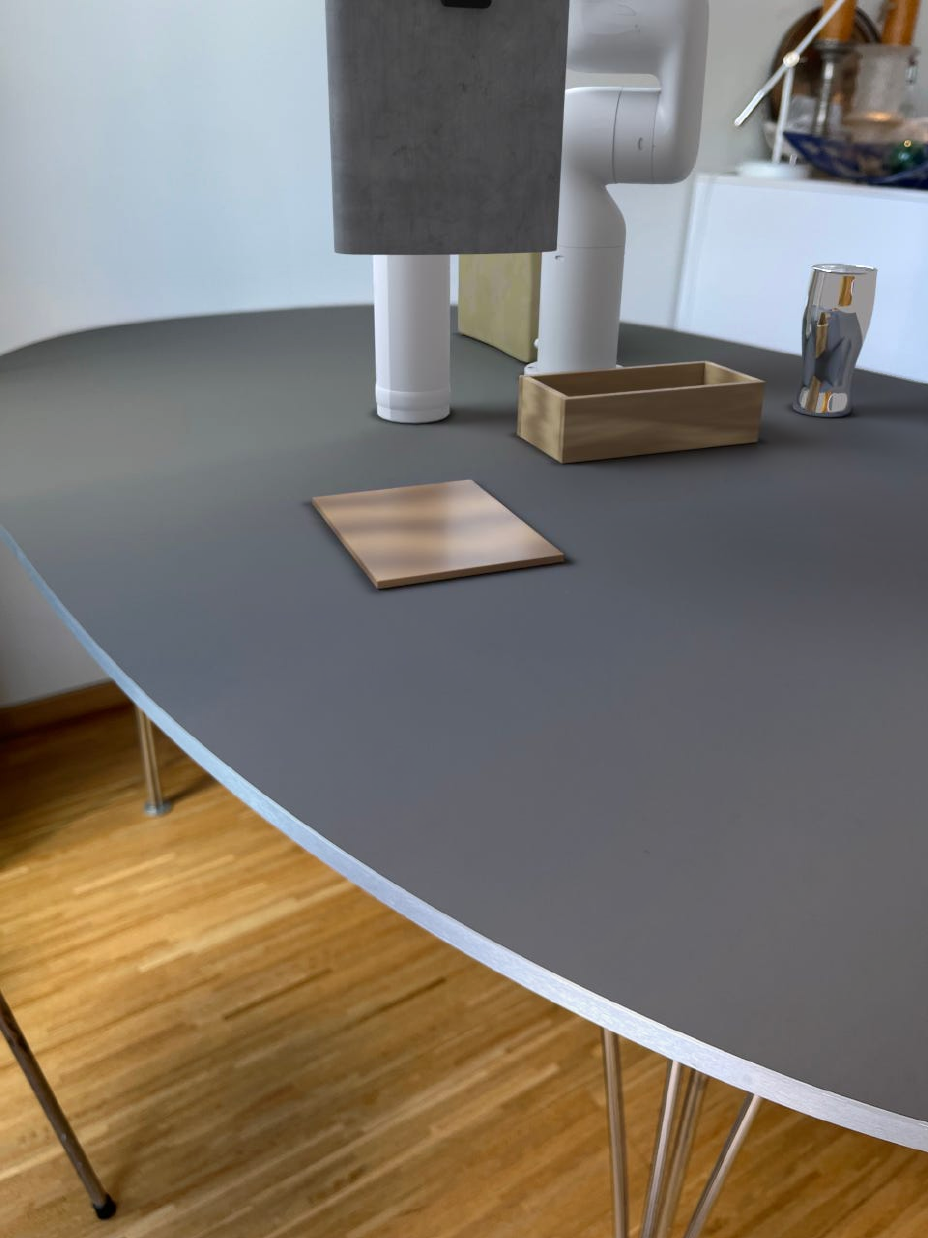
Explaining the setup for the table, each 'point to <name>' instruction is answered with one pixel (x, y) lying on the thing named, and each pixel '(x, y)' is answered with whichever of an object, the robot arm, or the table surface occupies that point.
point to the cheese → (501, 301)
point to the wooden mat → (432, 533)
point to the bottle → (412, 337)
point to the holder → (638, 410)
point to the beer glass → (833, 336)
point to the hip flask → (446, 125)
